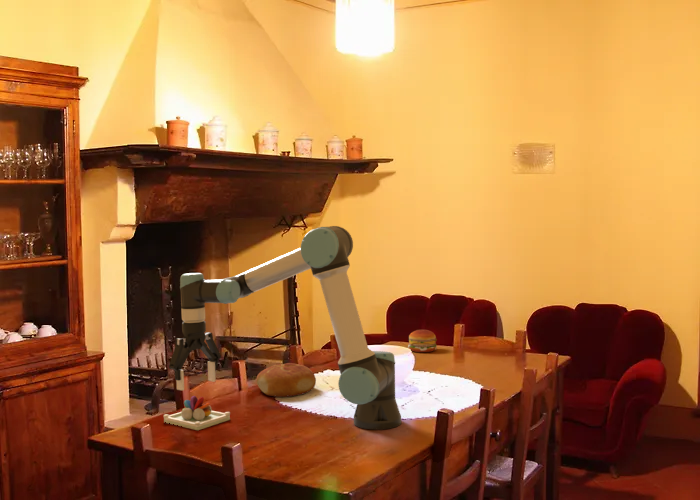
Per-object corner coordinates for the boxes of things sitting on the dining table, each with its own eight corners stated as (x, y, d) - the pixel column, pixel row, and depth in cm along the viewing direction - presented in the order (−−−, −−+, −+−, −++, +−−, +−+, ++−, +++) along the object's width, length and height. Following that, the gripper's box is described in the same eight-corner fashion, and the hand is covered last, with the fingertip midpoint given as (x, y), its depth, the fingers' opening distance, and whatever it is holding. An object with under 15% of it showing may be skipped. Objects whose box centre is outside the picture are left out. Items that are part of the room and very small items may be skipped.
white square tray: (231, 419, 255) (230, 412, 255) (197, 430, 244) (197, 423, 244) (196, 412, 265) (196, 405, 265) (162, 422, 254) (162, 415, 253)
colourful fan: (205, 422, 249) (204, 400, 249) (177, 421, 251) (176, 399, 251) (215, 415, 258) (214, 393, 257) (188, 413, 260) (187, 392, 259)
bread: (243, 396, 286) (242, 369, 285) (273, 382, 308) (272, 357, 307) (299, 401, 277) (298, 373, 277) (326, 386, 299) (325, 360, 298)
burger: (406, 353, 358) (406, 332, 357) (409, 347, 371) (409, 327, 371) (436, 354, 356) (435, 332, 355) (437, 348, 369) (437, 327, 369)
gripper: (213, 314, 265) (216, 376, 266) (155, 325, 245) (158, 392, 246) (229, 316, 260) (232, 378, 261) (171, 327, 240) (174, 395, 241)
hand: (196, 385), depth 254 cm, fingers open, 13 cm apart
